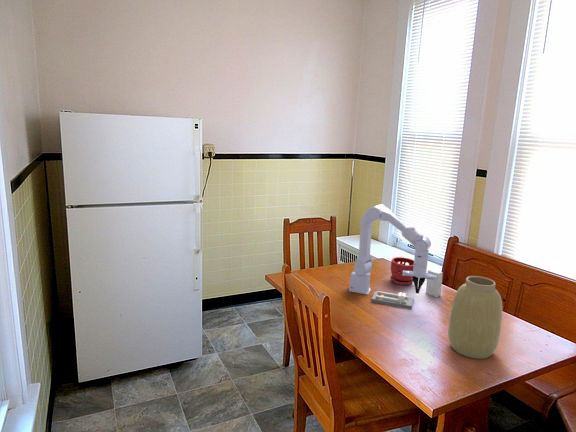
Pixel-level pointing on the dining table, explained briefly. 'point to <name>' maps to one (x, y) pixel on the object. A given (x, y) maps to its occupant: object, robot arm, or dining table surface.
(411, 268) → the plant pot
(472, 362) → the dining table surface
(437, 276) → the skincare box
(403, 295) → the fader tab
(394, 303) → the board
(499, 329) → the vase
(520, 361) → the dining table surface
